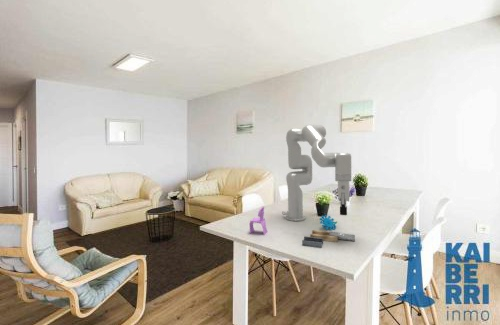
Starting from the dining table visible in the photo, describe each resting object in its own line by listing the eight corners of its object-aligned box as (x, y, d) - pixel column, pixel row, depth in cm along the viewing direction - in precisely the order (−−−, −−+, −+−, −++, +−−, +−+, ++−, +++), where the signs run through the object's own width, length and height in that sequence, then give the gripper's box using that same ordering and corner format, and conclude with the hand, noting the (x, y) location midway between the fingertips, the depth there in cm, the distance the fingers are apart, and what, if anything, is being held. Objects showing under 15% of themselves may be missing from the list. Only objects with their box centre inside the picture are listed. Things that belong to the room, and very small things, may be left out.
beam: (310, 239, 128) (310, 234, 128) (312, 234, 135) (312, 230, 135) (337, 242, 123) (337, 237, 123) (338, 237, 131) (338, 232, 130)
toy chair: (253, 229, 146) (253, 204, 145) (268, 231, 143) (267, 205, 142) (248, 234, 138) (248, 207, 138) (263, 236, 135) (263, 208, 134)
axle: (329, 237, 127) (329, 231, 128) (329, 237, 130) (329, 231, 131) (354, 241, 123) (354, 235, 123) (354, 241, 126) (354, 234, 126)
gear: (323, 229, 139) (318, 213, 146) (318, 234, 143) (314, 218, 150) (341, 230, 142) (335, 214, 148) (335, 235, 146) (330, 219, 153)
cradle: (302, 246, 120) (302, 240, 120) (304, 241, 126) (304, 236, 126) (321, 248, 117) (321, 243, 116) (323, 243, 123) (323, 238, 123)
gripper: (351, 179, 116) (351, 219, 117) (351, 176, 130) (351, 211, 131) (334, 179, 119) (334, 217, 119) (336, 176, 133) (336, 210, 134)
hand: (343, 214), depth 125 cm, fingers closed
